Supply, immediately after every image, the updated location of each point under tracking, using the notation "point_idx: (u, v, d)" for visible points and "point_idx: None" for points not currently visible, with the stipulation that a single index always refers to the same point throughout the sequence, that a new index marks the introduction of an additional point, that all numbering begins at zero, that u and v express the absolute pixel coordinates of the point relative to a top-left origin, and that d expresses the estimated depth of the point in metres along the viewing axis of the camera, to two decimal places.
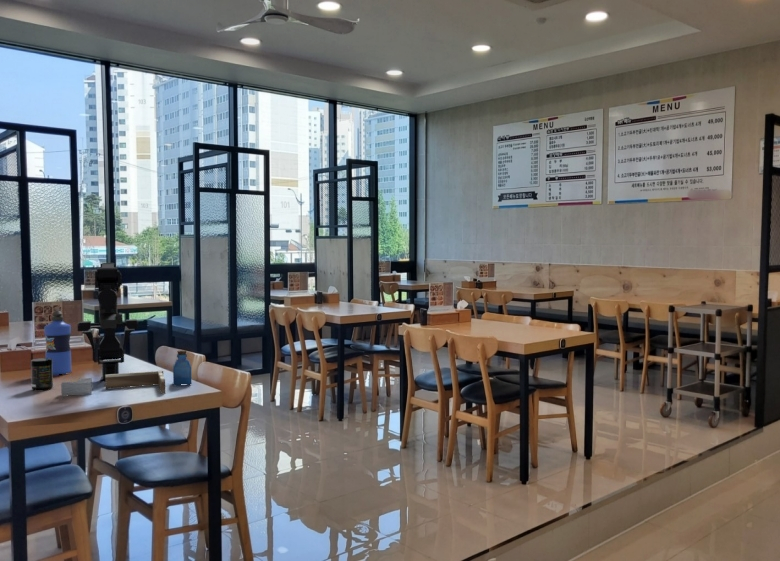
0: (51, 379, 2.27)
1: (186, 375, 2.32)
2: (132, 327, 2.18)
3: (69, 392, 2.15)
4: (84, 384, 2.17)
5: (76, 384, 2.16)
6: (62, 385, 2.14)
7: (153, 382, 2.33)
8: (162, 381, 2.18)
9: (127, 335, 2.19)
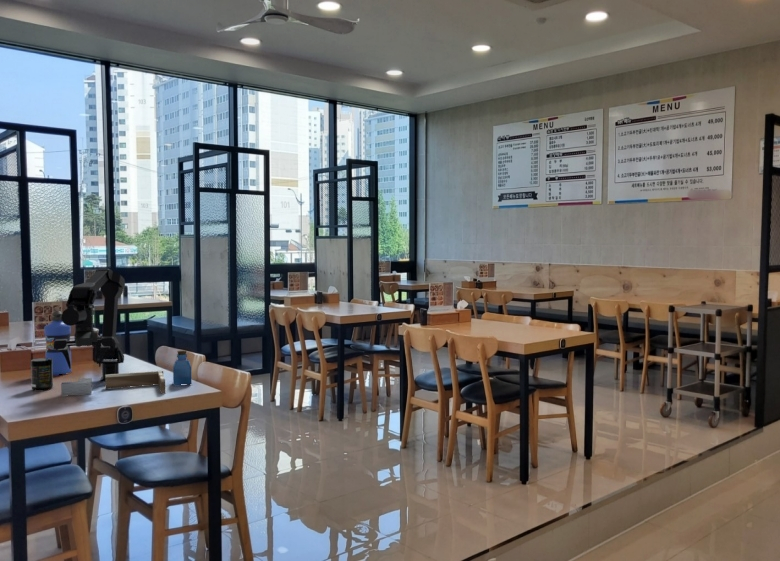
0: (51, 379, 2.27)
1: (186, 375, 2.32)
2: (107, 344, 2.23)
3: (69, 392, 2.15)
4: (84, 384, 2.17)
5: (76, 384, 2.16)
6: (62, 385, 2.14)
7: (153, 382, 2.33)
8: (162, 381, 2.18)
9: (103, 352, 2.24)
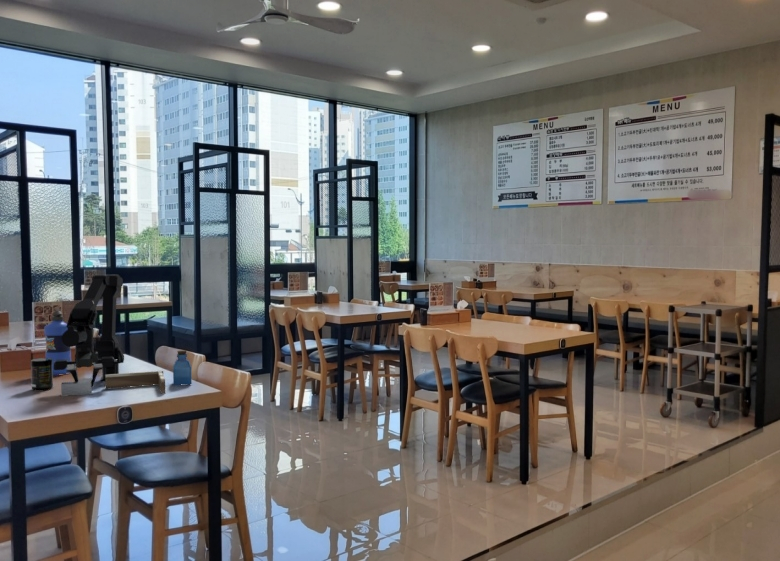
0: (51, 379, 2.27)
1: (186, 375, 2.32)
2: (108, 365, 2.23)
3: (69, 392, 2.15)
4: (84, 384, 2.17)
5: (76, 384, 2.16)
6: (62, 385, 2.14)
7: (153, 382, 2.33)
8: (162, 381, 2.18)
9: (95, 373, 2.23)
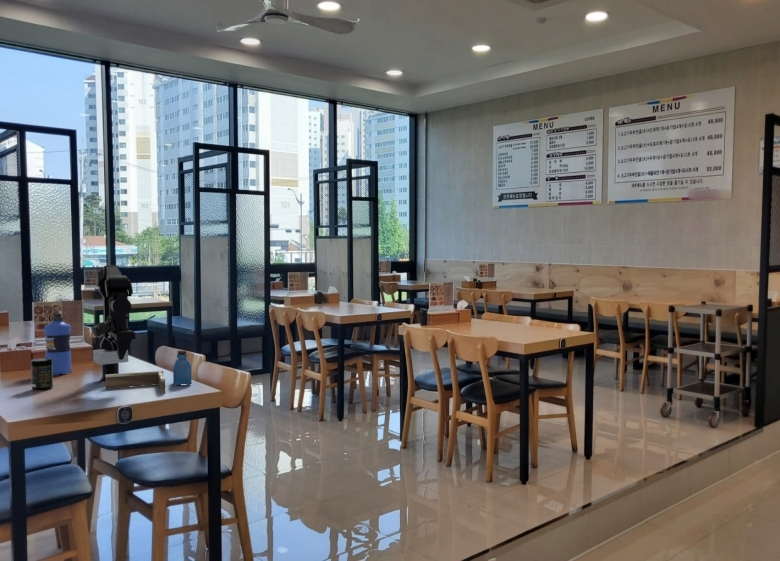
0: (51, 379, 2.27)
1: (186, 375, 2.32)
2: (115, 338, 2.13)
3: (95, 359, 2.20)
4: (98, 353, 2.16)
5: (96, 352, 2.18)
6: (93, 351, 2.22)
7: (153, 382, 2.33)
8: (162, 381, 2.18)
9: (117, 345, 2.17)
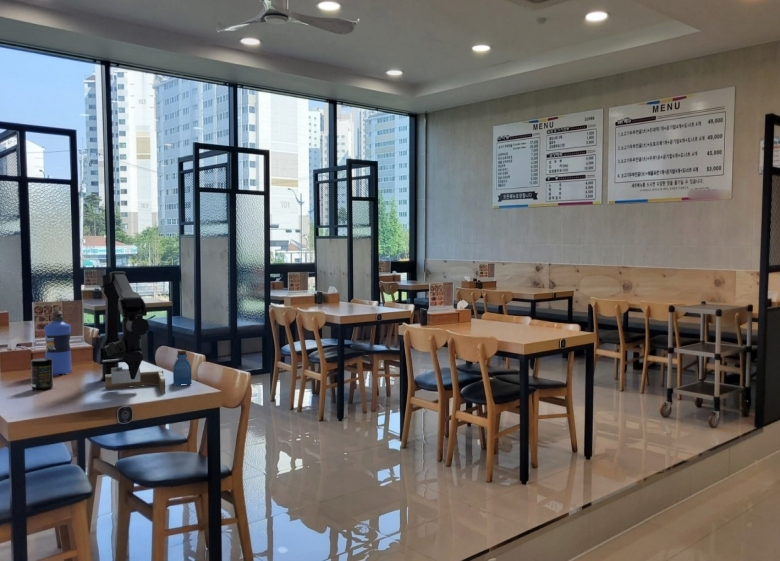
0: (51, 379, 2.27)
1: (186, 375, 2.32)
2: None
3: None
4: (111, 372, 2.18)
5: (111, 370, 2.20)
6: (111, 369, 2.24)
7: (153, 382, 2.33)
8: (162, 381, 2.18)
9: None
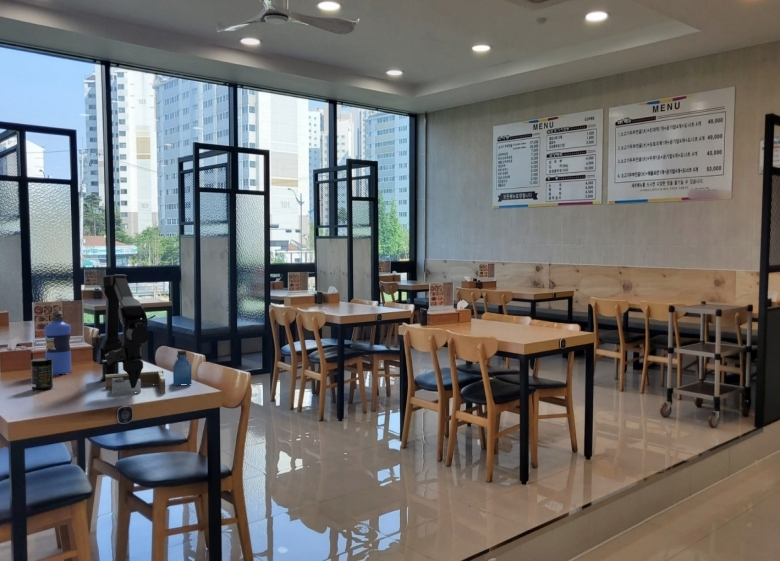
0: (51, 379, 2.27)
1: (186, 375, 2.32)
2: None
3: None
4: (112, 383, 2.18)
5: None
6: (112, 379, 2.24)
7: (153, 382, 2.33)
8: (162, 381, 2.18)
9: (128, 374, 2.16)
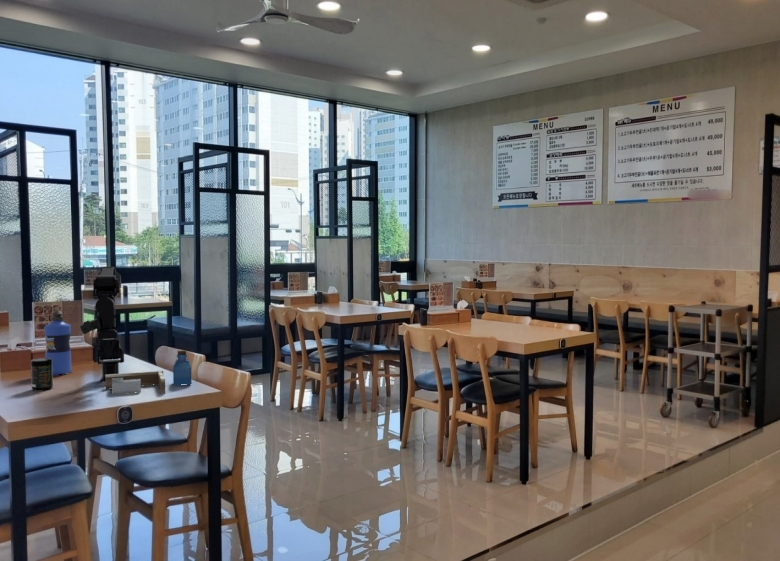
0: (51, 379, 2.27)
1: (186, 375, 2.32)
2: None
3: None
4: (112, 383, 2.18)
5: None
6: (112, 379, 2.24)
7: (153, 382, 2.33)
8: (162, 381, 2.18)
9: (102, 344, 2.20)
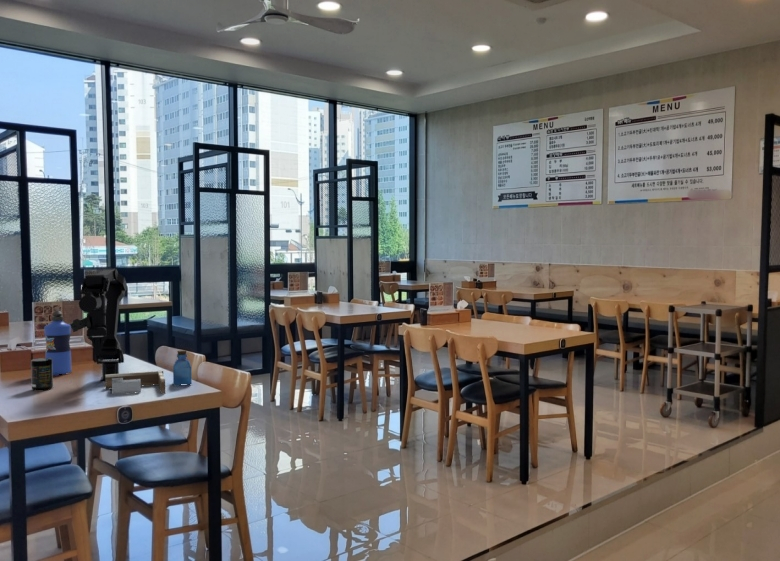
0: (51, 379, 2.27)
1: (186, 375, 2.32)
2: None
3: None
4: (112, 383, 2.18)
5: None
6: (112, 379, 2.24)
7: (153, 382, 2.33)
8: (162, 381, 2.18)
9: (92, 342, 2.22)
